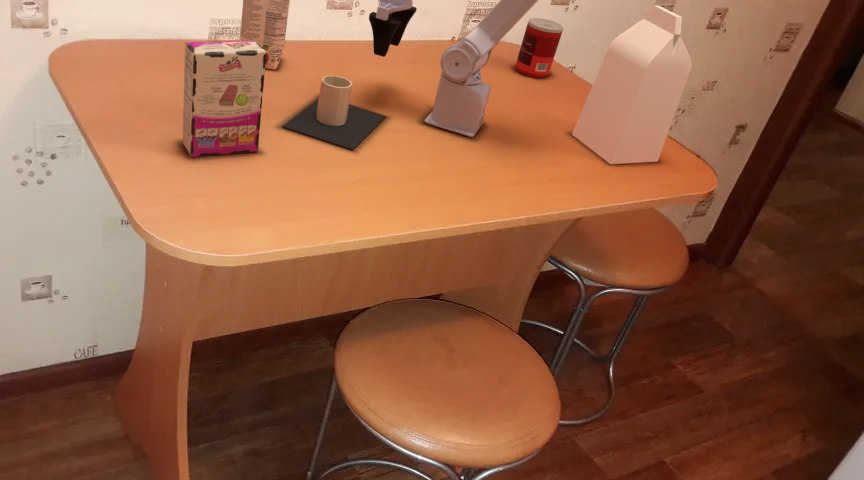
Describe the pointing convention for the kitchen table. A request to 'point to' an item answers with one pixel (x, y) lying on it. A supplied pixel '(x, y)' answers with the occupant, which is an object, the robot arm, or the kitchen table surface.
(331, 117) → the cream cup
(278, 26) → the juice carton
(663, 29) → the milk
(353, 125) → the placemat
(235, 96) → the candy bar box
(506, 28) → the robot arm
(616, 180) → the kitchen table surface
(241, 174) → the kitchen table surface
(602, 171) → the kitchen table surface
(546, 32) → the canned food
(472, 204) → the kitchen table surface
